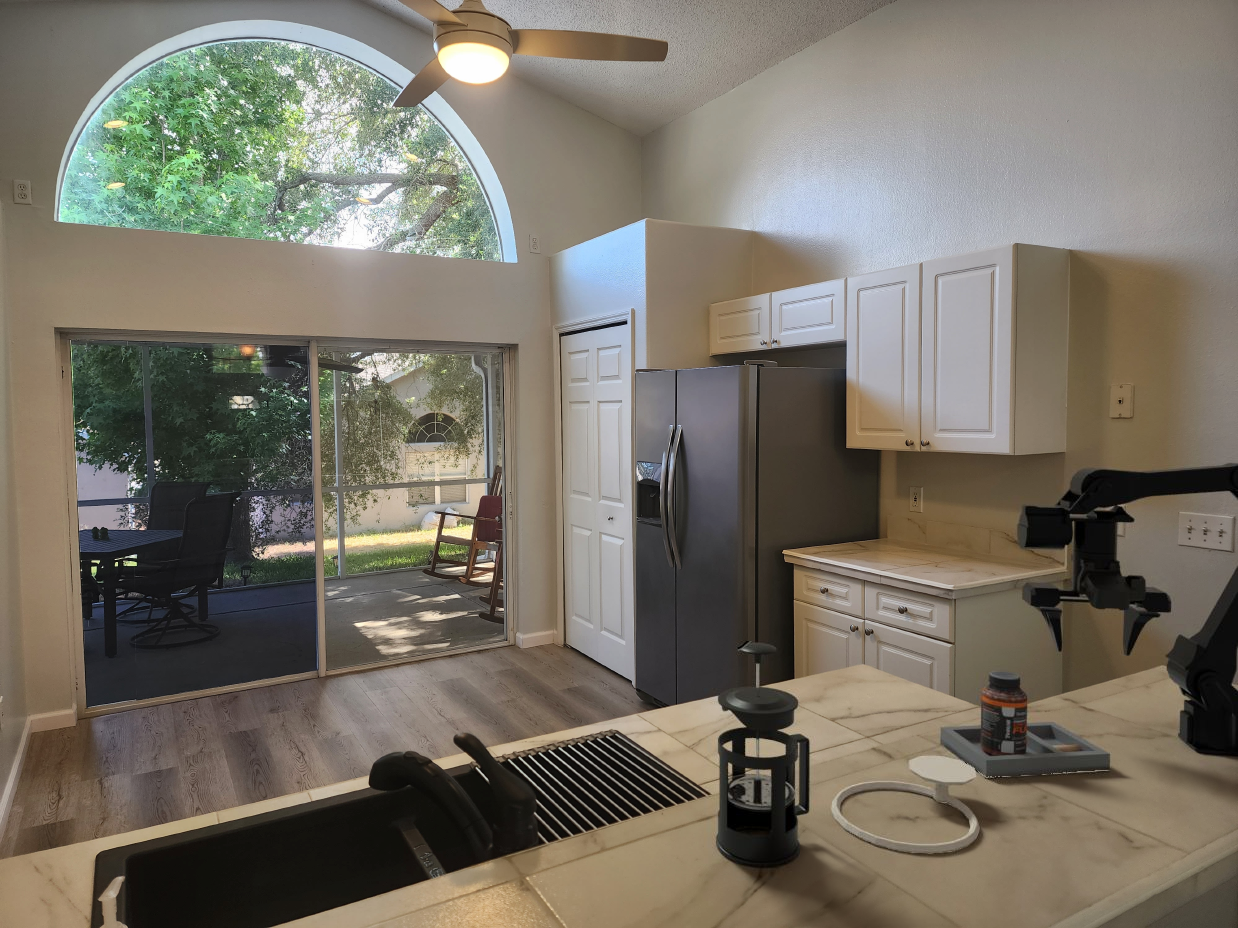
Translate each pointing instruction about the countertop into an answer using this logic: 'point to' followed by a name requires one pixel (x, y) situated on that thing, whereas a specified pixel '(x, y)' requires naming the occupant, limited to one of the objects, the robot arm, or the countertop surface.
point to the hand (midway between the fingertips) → (1092, 652)
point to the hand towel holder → (929, 770)
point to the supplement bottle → (1003, 715)
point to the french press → (757, 794)
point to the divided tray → (1028, 751)
